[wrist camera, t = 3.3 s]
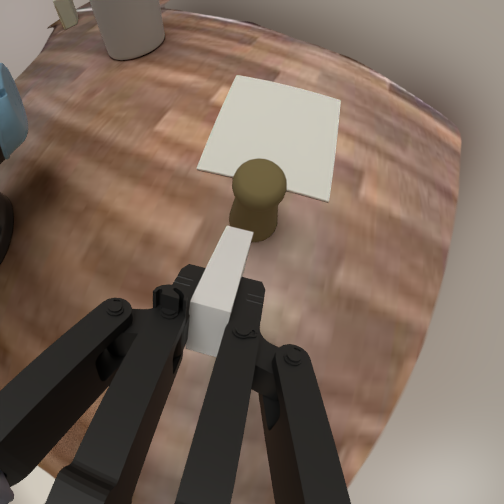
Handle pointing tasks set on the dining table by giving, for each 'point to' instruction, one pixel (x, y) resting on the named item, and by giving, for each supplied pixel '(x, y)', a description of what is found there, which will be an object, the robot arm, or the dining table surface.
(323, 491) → the robot arm
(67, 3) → the skincare box
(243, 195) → the cork
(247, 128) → the felt mat
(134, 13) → the cylinder vase
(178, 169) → the dining table surface
